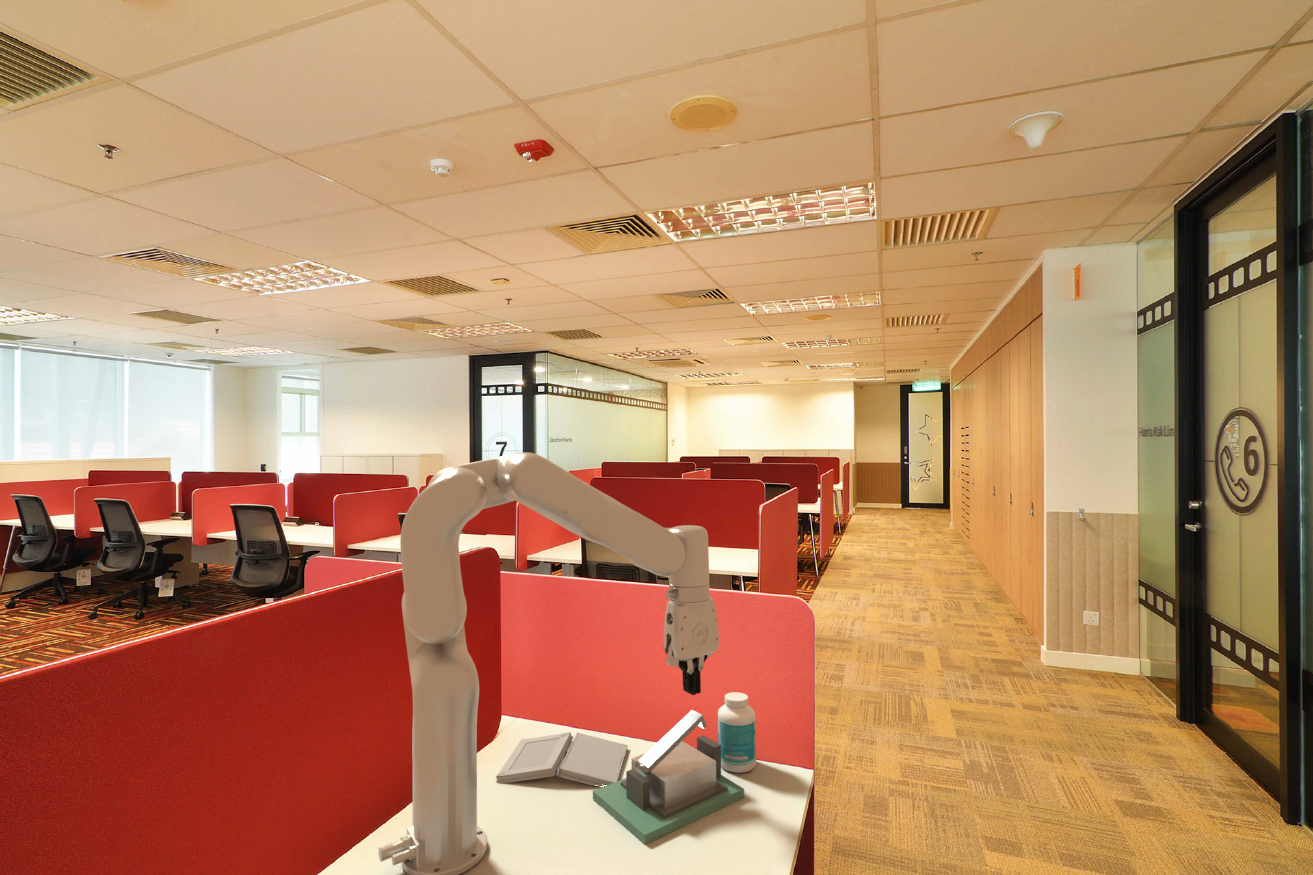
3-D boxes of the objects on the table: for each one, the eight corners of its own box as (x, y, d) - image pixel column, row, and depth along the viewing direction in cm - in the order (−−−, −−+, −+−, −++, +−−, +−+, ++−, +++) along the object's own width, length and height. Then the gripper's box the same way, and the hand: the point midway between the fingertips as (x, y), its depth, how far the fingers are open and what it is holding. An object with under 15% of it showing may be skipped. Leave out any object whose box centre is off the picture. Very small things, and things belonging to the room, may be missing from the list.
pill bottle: (763, 770, 121) (762, 700, 121) (729, 777, 118) (728, 706, 118) (744, 752, 128) (743, 686, 128) (711, 759, 125) (711, 692, 125)
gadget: (628, 751, 130) (628, 733, 130) (616, 791, 115) (616, 771, 115) (520, 747, 132) (520, 729, 132) (495, 785, 117) (495, 765, 117)
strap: (650, 783, 107) (644, 771, 106) (639, 775, 110) (633, 763, 109) (707, 726, 115) (702, 714, 114) (696, 720, 118) (691, 708, 117)
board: (644, 844, 98) (644, 797, 98) (592, 799, 111) (592, 757, 111) (744, 797, 111) (743, 755, 112) (687, 761, 124) (687, 724, 124)
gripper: (670, 603, 108) (672, 709, 107) (732, 589, 117) (735, 687, 116) (644, 595, 114) (647, 696, 113) (706, 583, 123) (708, 676, 122)
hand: (692, 691), depth 115 cm, fingers closed
